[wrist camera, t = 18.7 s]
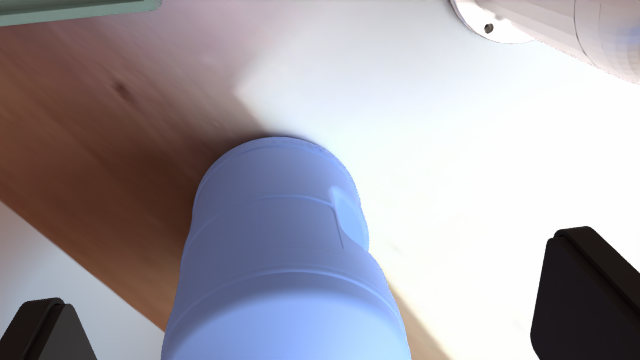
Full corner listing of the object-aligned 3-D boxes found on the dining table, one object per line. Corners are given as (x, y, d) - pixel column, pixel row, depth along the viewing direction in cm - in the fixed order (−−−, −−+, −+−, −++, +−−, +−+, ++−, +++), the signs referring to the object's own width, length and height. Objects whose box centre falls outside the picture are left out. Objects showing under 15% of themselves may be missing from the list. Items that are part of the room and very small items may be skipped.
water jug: (184, 258, 49) (110, 599, 25) (210, 115, 42) (144, 394, 18) (331, 279, 53) (394, 597, 28) (377, 151, 46) (513, 425, 21)
